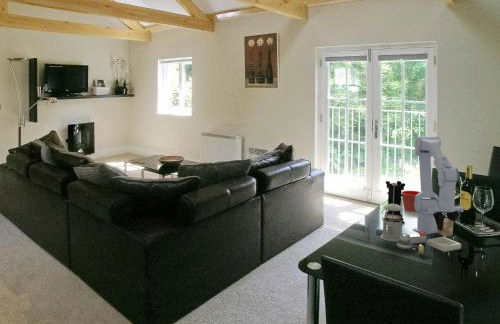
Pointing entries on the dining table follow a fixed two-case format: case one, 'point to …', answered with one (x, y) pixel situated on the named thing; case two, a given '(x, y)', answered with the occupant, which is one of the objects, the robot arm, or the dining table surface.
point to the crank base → (410, 247)
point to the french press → (392, 222)
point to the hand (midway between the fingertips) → (444, 229)
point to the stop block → (446, 227)
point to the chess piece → (395, 197)
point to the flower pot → (409, 200)
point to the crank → (412, 238)
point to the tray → (444, 244)
